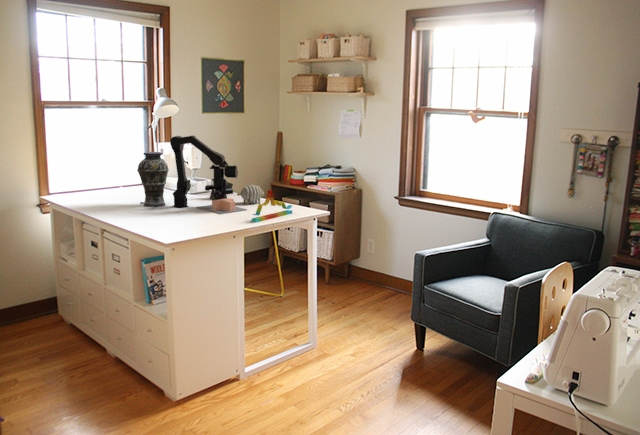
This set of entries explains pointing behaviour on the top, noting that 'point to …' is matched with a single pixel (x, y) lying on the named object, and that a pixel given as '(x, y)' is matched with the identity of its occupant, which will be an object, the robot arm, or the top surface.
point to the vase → (153, 178)
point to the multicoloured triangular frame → (273, 203)
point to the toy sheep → (251, 194)
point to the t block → (223, 204)
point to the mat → (209, 208)
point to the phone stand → (213, 196)
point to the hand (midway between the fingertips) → (218, 204)
